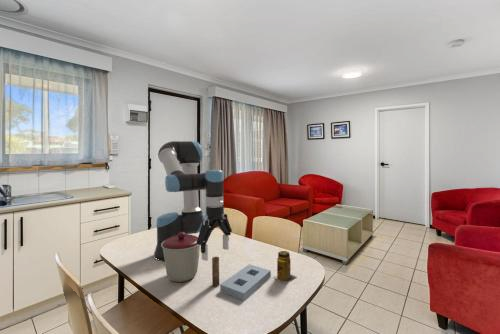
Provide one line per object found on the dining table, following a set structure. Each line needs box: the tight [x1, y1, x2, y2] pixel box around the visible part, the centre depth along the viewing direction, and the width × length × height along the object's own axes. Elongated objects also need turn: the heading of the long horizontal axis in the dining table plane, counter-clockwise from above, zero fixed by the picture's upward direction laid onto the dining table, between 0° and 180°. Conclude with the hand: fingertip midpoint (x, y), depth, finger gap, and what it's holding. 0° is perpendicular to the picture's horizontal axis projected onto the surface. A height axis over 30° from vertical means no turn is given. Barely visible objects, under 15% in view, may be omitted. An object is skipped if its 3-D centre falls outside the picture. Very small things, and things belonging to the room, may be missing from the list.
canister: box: [161, 232, 201, 283], centre depth 114 cm, size 18×18×21 cm
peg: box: [211, 256, 220, 287], centre depth 107 cm, size 3×3×12 cm
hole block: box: [219, 264, 272, 302], centre depth 108 cm, size 12×22×3 cm, turn 147°
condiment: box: [273, 250, 297, 285], centre depth 113 cm, size 7×8×12 cm
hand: (215, 254), depth 107 cm, fingers open, 13 cm apart
